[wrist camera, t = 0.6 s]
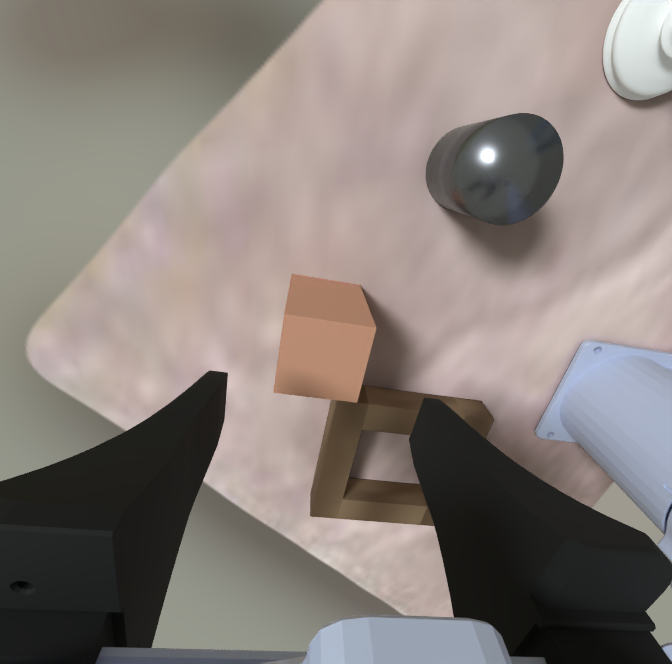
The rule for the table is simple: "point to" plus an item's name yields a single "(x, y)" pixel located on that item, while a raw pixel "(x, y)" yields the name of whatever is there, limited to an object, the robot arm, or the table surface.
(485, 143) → the metal cylinder
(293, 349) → the terracotta block
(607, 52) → the chess piece
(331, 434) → the walnut collar
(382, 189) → the table surface
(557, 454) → the table surface
